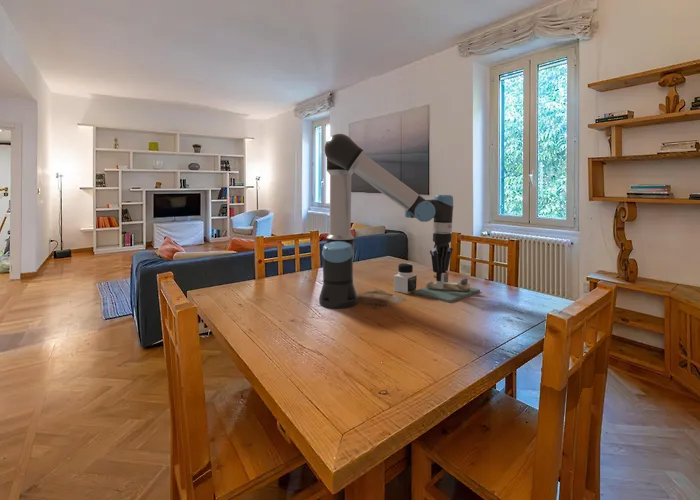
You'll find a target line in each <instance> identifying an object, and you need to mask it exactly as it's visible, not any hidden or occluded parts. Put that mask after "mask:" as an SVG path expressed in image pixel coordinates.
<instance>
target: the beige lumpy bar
mask: <svg viewBox="0 0 700 500" xmlns="http://www.w3.org/2000/svg"><path fill="white" fill-rule="evenodd" d="M436 282H437V281H432V280H431V281H429V280H427V281H426V288H428V289H440V288H436ZM470 288H471V283H467V284H462V283H461V282H452V281H451V282H450V281H448V282H444V285H443V290H459V291H470Z"/></svg>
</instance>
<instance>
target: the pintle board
mask: <svg viewBox="0 0 700 500" xmlns="http://www.w3.org/2000/svg"><path fill="white" fill-rule="evenodd" d="M446 272H447V273H444V282H449V272H448V271H446ZM436 275H437V273H436V274H434V275H433V279H436ZM460 283H462V284H467V283H468V278H465V277H461V278H460ZM480 291H481V290H480V289H479V288H474V287H470V291H459V290H443V289H428V288H426V287H422V288H419V289H416V290H415V291H413V294H415V295H419V296H423V297H427V298H430V299H434V300H438V301H440V302H441V301H442V302H444V303H445V302H446V303H449V304H450V303H453V302H456V301H458V300H461V299H464V298H467V297H470V296H472V295H475V294H478V293H480Z"/></svg>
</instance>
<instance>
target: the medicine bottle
mask: <svg viewBox="0 0 700 500" xmlns="http://www.w3.org/2000/svg"><path fill="white" fill-rule="evenodd" d="M413 266H414V265H413V264H411V263H408V262H403V263H399V264H398V266H397V267H398V272H397V274H394V275H393V291H394V292H396V293H397V292H398V293H400V294H401V293H402V294H411V293H414V291H415V290H417V274H416V273H413Z"/></svg>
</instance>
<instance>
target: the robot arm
mask: <svg viewBox="0 0 700 500" xmlns="http://www.w3.org/2000/svg"><path fill="white" fill-rule="evenodd" d="M324 155H325V157H326V172H327V173H328V174H329V175H330V179H329V180H330V185H329V186H330V191H329V192H330V193H329V194H330V195H329V197H330V198H329V200H330V201H329V203H330V204H329V205H330V206H329V207H330V208H329V212H330V213H329V226H330V227H329V234H328V235H327V236H326V238H325V239H326V240H325V241H326V243H324V245H323V246H322V251H321V256H322V281H323V282H322V286H321V290H320V293H319V298H318V299H319V303H318V304H319V305H320V306H322V307H324V308H330V309H344V308H345V309H346V308H350V307H354V306H355V305H357V304H358V294H357V290H356V288H355V286H354V258H355V236H354V235H353V234H352V233H351V230H352V229H351V228H352V227H351V226H352V225H351V222H352V221H351V220H352V175H353V174H355V175H357V176H358V177H359V178H361V179H362V180H364V181H366V183H368V184H369V185H371V186H372V187H373V188H374V189H376V190H378V192H380V193H381V194H383V195H384V196H386V197H387V199H390V200H391V201H393V202H394V203H395V204H396V205H398V206H400V207H401V208H402V209H403V210H404V217H405V218H409V219H417V220H418V221H419V222H422V223H425V222H431V220H433V223H432V225H433V226H432V227H433V228H432V231H433V233H432V241H433V243H434V245H433V249H430V251H429V254H430V256H431V265H432V271H433V272H434V273H436V274H437V275H436V274H435V275H436V278H435V280H436V281H435V282H436V288H440V289H443V285H444V273H447V272H448V270H449V267H450V262H451V261H450V260H451V255H452V253H453V250H454V248H452V247H450V243H451V242H452V239H453V238H452V237H453V235H452V231H453V214H454V213H453V212H454V197H453V195H451V194H435V195H434V197H433V199H426V198H424V197H423V196H421V195H420V194H419V193H417V192H416V191H414V190H413V189H412V188H410V186H408V185H406V184H405V183H404V182H402V181H401V180H399V179H398V178H397V177H396V176H395V175H393V174H392V173H390V172H389V171H388V170H386V169H385V168H383V167H382V166H381V165H379V164H378V163H377V162H376V161H374V160H373V159H371V158H370V157H369V156H367V155H366V154H365V150H364V149H363V148H361V146H358V144H357V143H356V142H355V141H354V140H352V139H351V137H349V135H346V134H343V133H336V134H334V135H333V134H332V135H331V136H330V137H329V138H328V139H327V140H326V142H325V145H324Z"/></svg>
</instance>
